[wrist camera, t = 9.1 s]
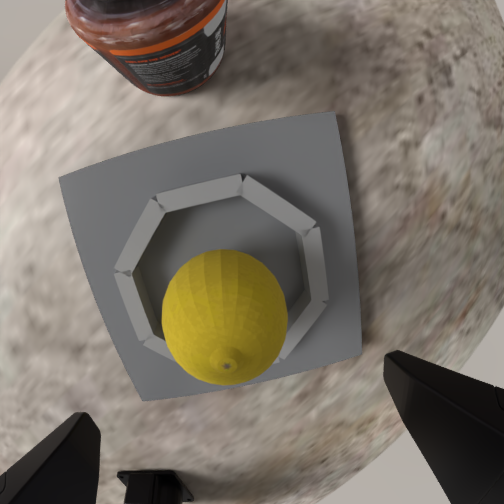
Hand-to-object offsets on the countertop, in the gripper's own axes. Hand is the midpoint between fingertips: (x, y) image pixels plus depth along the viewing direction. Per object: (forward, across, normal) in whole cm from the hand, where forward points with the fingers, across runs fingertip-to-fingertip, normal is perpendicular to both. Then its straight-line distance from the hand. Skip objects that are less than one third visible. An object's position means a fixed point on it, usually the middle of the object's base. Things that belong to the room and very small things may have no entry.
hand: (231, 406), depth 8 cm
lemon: (+10, 0, 0) cm, 10 cm away
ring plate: (+12, 0, 0) cm, 12 cm away
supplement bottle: (+12, 0, -13) cm, 18 cm away
